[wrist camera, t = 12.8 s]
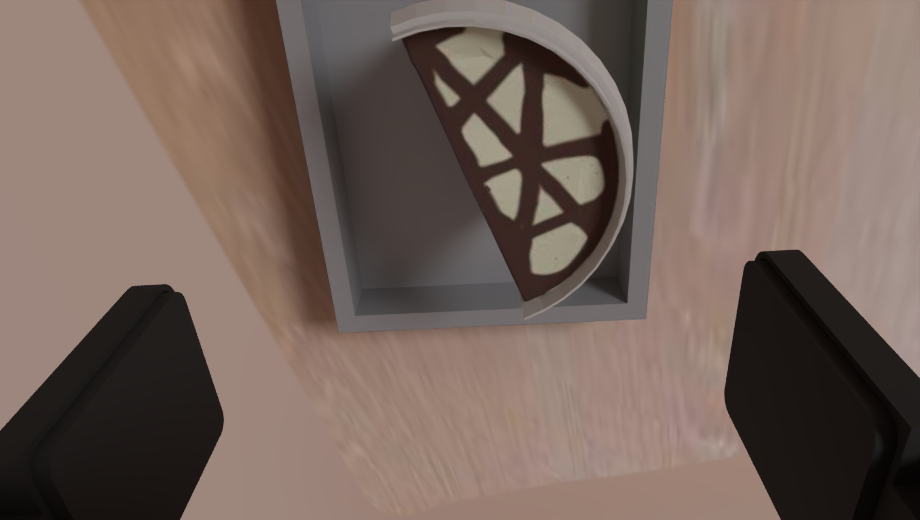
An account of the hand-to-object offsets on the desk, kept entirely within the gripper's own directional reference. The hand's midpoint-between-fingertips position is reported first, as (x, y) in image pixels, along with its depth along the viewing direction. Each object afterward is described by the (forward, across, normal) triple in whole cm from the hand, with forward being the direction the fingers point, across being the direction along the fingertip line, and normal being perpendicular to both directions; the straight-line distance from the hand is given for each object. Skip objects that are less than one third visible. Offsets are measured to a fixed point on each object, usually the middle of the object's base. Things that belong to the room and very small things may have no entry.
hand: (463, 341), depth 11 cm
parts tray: (+22, 0, +2) cm, 22 cm away
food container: (+22, -3, +1) cm, 22 cm away
